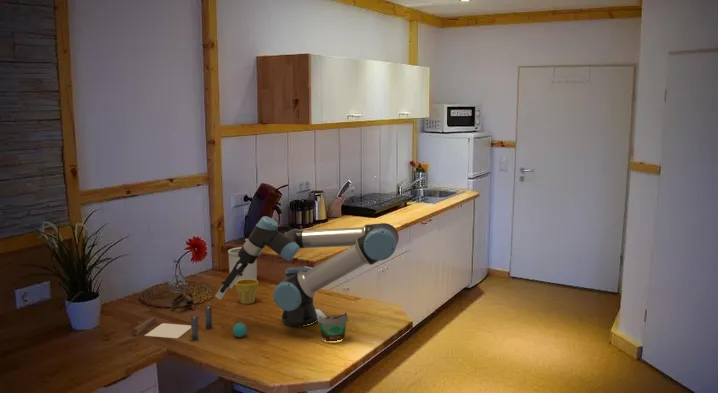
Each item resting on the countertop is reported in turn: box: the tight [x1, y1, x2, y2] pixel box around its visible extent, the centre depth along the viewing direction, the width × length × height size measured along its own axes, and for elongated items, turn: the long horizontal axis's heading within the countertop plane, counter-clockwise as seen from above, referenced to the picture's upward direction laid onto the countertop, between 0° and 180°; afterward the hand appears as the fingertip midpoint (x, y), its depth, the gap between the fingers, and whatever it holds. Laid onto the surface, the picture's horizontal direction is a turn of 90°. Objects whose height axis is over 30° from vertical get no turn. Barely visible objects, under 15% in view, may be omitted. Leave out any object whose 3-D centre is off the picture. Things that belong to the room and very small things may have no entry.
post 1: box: [190, 315, 199, 341], centre depth 227 cm, size 3×3×9 cm
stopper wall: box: [132, 316, 157, 336], centre depth 238 cm, size 2×14×2 cm, turn 170°
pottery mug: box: [170, 292, 197, 311], centre depth 264 cm, size 12×10×8 cm
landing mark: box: [144, 322, 191, 339], centre depth 236 cm, size 14×14×1 cm
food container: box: [317, 311, 349, 341], centre depth 227 cm, size 12×6×10 cm, turn 117°
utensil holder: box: [227, 246, 258, 287], centre depth 305 cm, size 15×15×18 cm
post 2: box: [204, 305, 213, 330], centre depth 239 cm, size 3×3×9 cm
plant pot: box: [235, 279, 260, 305], centre depth 274 cm, size 10×10×10 cm
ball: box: [232, 322, 248, 338], centre depth 231 cm, size 6×6×6 cm
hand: (223, 292), depth 239 cm, fingers open, 13 cm apart
